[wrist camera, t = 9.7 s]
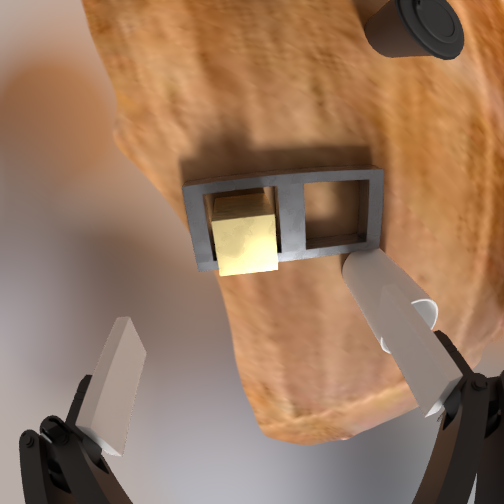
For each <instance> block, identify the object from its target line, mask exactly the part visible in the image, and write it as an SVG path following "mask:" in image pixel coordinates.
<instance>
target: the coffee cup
mask: <svg viewBox="0 0 504 504" xmlns="http://www.w3.org/2000/svg"><path fill="white" fill-rule="evenodd" d="M365 35H366V38H367V40H368V42H369V44H370V45H371V46H372V47H373V49H374V50H376V51H377V52H378V53H379V54H381V55H384V56H386V57H391V58H394V57H409V56H434V57H437V58H440V59H443V60H451V59H454V58H456V57H457V56H458V55H459V54H460V52H461V51H462V49H463V46H464V33H463V28H462V25H461V23H460V20H459V18H458V16H457V14H456V13H455V11H454V10H453V8H452V7H451V6H450V4H449V3H448V2H447V1H446V0H390V1H389V2H388V3H387V4H386V5H385V6H383V7H382V8H381V9H380V10H379V11H378V12H377V13H376V14H375V15H374V16H373V17H371V18H370V19H369V20H368V22H367V23H366V25H365Z"/></svg>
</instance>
